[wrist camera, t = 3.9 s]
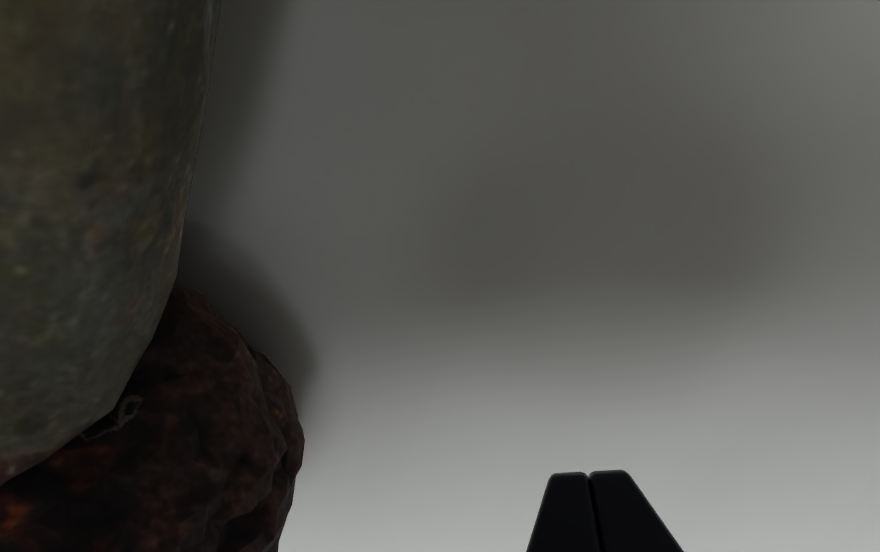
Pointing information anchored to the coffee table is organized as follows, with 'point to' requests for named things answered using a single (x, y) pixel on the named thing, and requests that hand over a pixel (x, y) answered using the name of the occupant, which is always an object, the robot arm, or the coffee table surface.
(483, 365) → the coffee table surface
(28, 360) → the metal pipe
